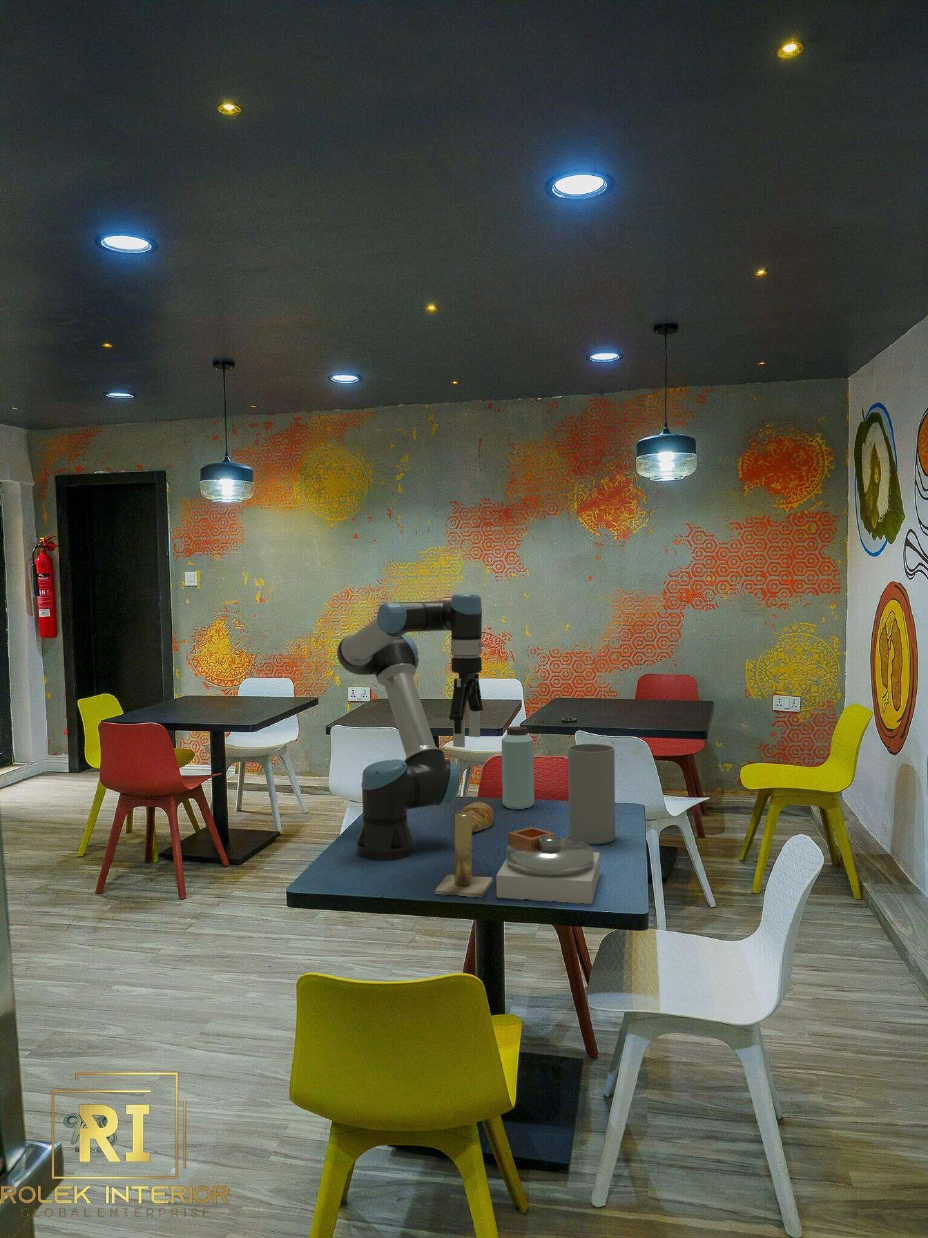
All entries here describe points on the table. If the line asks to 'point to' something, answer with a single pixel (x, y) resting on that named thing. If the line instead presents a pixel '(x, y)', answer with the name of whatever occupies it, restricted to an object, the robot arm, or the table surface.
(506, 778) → the water bottle
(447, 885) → the birch pad
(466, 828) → the brass capsule
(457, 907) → the table surface
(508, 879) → the beige square block
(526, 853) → the silver metal disc
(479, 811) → the croissant
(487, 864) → the table surface
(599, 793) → the cylinder vase
